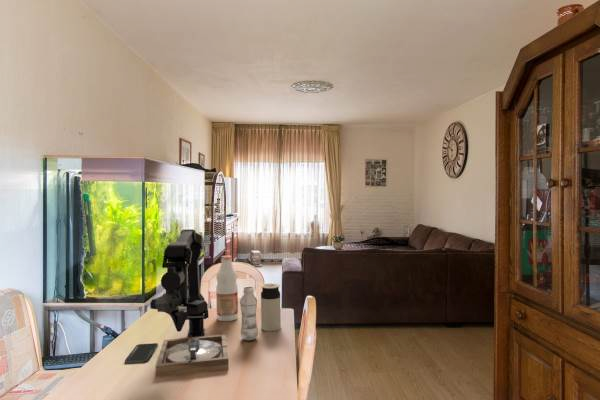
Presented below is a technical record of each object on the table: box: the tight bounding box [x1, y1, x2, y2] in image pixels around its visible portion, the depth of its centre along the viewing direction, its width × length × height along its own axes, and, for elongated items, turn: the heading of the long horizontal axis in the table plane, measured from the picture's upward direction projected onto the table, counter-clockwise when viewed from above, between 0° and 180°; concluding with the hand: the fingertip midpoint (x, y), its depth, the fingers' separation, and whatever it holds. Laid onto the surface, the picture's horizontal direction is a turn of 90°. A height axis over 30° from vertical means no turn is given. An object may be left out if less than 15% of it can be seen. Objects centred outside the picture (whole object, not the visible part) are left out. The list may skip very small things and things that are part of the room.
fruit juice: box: [215, 255, 239, 322], centre depth 177 cm, size 9×9×28 cm
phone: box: [124, 342, 159, 365], centre depth 139 cm, size 8×1×15 cm
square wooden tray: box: [155, 334, 230, 378], centre depth 135 cm, size 22×22×4 cm
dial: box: [166, 337, 221, 363], centre depth 135 cm, size 18×18×5 cm
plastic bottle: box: [239, 286, 259, 341], centre depth 152 cm, size 6×7×20 cm
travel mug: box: [260, 282, 282, 332], centre depth 164 cm, size 8×8×18 cm
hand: (179, 331), depth 127 cm, fingers closed
